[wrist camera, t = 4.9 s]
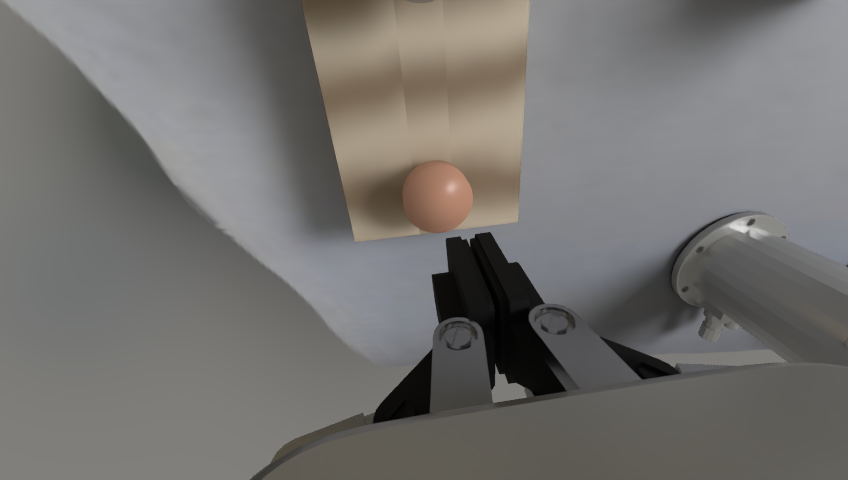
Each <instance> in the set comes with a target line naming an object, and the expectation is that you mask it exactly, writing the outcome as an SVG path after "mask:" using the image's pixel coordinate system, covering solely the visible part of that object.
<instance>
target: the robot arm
mask: <svg viewBox="0 0 848 480" xmlns="http://www.w3.org/2000/svg"><path fill="white" fill-rule="evenodd" d="M446 248H447V259H448V270H449V272H446V273H439V274H432V282H433V290H434V297H435V304H436V310H437V316H438V321H439V325H438V326H437V327H436V329H435V331H434V335H433V349H432V350H431V351H430V352H429V353H428V354H427V355H426V356H425V357H424V358H423V359H422V360H421V361H420V363H419V364H418V365H417V366H416V367H415V368H414V369H413V370H412V371H411V372H410V373H409V374H408V375H407V376H406V377H405V378H404V379H403V381H402V382H401V383H400V384H399V385H398V386H397V387H396V388H395V389H394V390H393V391H392V392H391V393H390V394H389V395H388V396H387V397H386V398H385V400H384V401H383V402H382V403H381V404H380V405H379V407H378V408H377V410H376V412H375V413H372V414H370V415H367V416H364V415H363V413H361V414H358V415H356V416H353V417H350V418H348V419H345V420H343V421H341V422H338V423H335V424H332V425H330V426H327V427H325V428H322V429H319V430H317V431H314V432H312V433H309V434H307V435H304V436H301V437H299V438H296V439H294V440H292V441H290V442H289V443H287V444H285V445H284V446H283V447H282V448H281V449H280V450H279V451H278V452H277V453H276V455H275V456H274V458H273V460H272V461H271V463H270V464H269V465H267V466H266V467H265V468H263V469H262V470H261V471H259V472H258V473H257V474H256V475H254V476H253V477H252V478H251V479H250V480H848V267H846V266H844V265H842V264H839V263H837V262H835V261H833V260H830V259H828V258H826V257H824V256H821V255H819V254H817V253H815V252H813V251H810V250H808V249H806V248H804V247H801V246H799V245H797V244H795V243H792V242H790V241H789V233H788V230H787V228H786V226H785V225H784V224H783V222H782V221H781V220H779V219H777V218H775V217H773V216H770V215H768V214H765V213H761V212H744V213H739V214H735V215H732V216H729V217H727V218H724V219H722V220H719V221H718V222H716V223H714V224H712V225H710V226H709V227H707V228H706V229H704V230H703V231H702V232H700V233H699V234H698V235H697V236H696V237H695V238H693V239H692V240H691V241H690V242H689V243H688V245H687V246H686V247H685V248H684V249H683V251H682V252H681V254H680V255H679V257H678V258H677V260H676V263H675V265H674V267H673V272H672V286H673V290H674V291H675V293H676V294H677V295H678V296H679V297H680V298H681V299H683V300H684V301H685V302H687V303H689V304H690V305H694V306H697V307H703V308H704V309H705V310H704V312H703V313H704V315H705V317H706V318H705V320H704V321H703V323H702V325H701V327H700V329H699V332H698V334H699V336H700V337H702V338H703V339H705V340H708V341H717V340H718V338H719V336H720V334H721V332H722V330H723V325H724V326H725V327H727V328H728V329H732V330H737V329H738V328H739V326H740V327H742V328H743V329H744V330H746V331H747V332H748V333H750V334H751V335H752V336H754V337H755V338H756V339H758V340H759V341H760V342H762V343H763V344H764V345H766V346H767V347H768V348H770V349H771V350H772V351H774V352H775V353H776V354H778V355H779V356H780V357H782V358H783V359H784V360H786V361H787V362H784V363H765V364H754V365H743V366H727V365H703V364H679V363H678V364H676V366H675V368H674V367H672V366H670V365H669V364H668V363H665V362H663V361H661V360H659V359H657V358H654V357H652V356H649V355H646V354H644V353H641V352H639V351H636V350H633V349H631V348H628V347H625V346H623V345H620V344H618V343H615V342H612V341H610V340H607V339H604V338H602V337H599V336H598V335H597V334H596V333H595V332H594V331H593V330H592V329H591V328H590V327H589V326H588V325H587V324H586V323H585V322H584V321H583V320H582V319H581V318H580V317H579V316H578V315H577V314H576V313H575V312H574V311H572V310H571V309H569V308H567V307H565V306H562V305H558V304H545V303H544V302H543V300H542V299H541V297H540V296H539V294H538V293H537V291H536V289H535V288H534V286H533V285H532V283H531V282H530V280H529V278H528V277H527V275H526V274H525V272H524V271H523V269H522V268H521V266H520V265H519V263H517V262H514V263H508V261H507V260H506V258H505V256H504V255H503V253H502V251H501V249H500V248H499V246H498V244H497V243H496V241H495V239H494V238H493V236H492V234H491V233H490V232H487V233H480V234H475V238H472V239H470V246H469V244H468V241H467V239H465V240H462V239H461V237H453V238H446ZM495 364H496V367H497V369H498V372H499V374H505V376H506V378H507V381H508V384H510V383H518V384H520V385H522V386H523V387H525V393H526V396H527V398H522V399H516V400H510V401H504V402H497V403H493V401H492V394H491V390H492V389H493V387H494V386H495Z"/></svg>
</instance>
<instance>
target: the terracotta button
mask: <svg viewBox="0 0 848 480" xmlns="http://www.w3.org/2000/svg"><path fill="white" fill-rule="evenodd" d="M402 194H403V206H404V211H405V213H406V216H407V217H408V219H409V220H410V222H411V223H412V224H413V225H415V226H416V227H417V228H419V229H421V230H423V231H426V232H431V233H441V232H446V231H449V230H452V229H454V228H455V227H457V226H458V225H460V224H461V223H462V222H463V221H464V220H465V219H466V218H467V216H468V214H469V212H470V210H471V207H472V203H473V193H472V189H471V186H470V184H469V182H468V181H467V179H466V178H465V176H464V175H463V173H462V172H461V171H460V170H459V169H458V168H457V167H456V166H455V165H453V164H451V163H449V162H446V161H441V160H432V161H427V162H424V163H422V164H420V165H418V166H417V167H415V168H414V169H413V170H412V171H411V172H410V173H409V175H408V176H407V178H406V180H405V182H404V185H403V192H402Z"/></svg>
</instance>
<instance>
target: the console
mask: <svg viewBox="0 0 848 480" xmlns="http://www.w3.org/2000/svg"><path fill="white" fill-rule="evenodd" d="M301 3H302V7H303V12H304V16H305V21H306V25H307V30H308V34H309V39H310V43H311V48H312V52H313V56H314V61H315V65H316V70H317V74H318V79H319V83H320V88H321V92H322V96H323V101H324V105H325V110H326V114H327V119H328V123H329V128H330V132H331V136H332V141H333V145H334V150H335V154H336V159H337V163H338V168H339V172H340V177H341V181H342V185H343V190H344V194H345V199H346V203H347V208H348V212H349V217H350V221H351V225H352V230H353V234H354V239H355V242H361V241H369V240H377V239H385V238H393V237H401V236H409V235H418V234H426V233H431V232H426V231H423V230H421V229H419V228H417V227H416V226H415V225H413V224H412V223H411V222H410V220H409V219H408V217H407V216H406V213H405V211H404V206H403V194H402V192H403V185H404V182H405V180H406V178H407V176H408V175H409V173H410V172H411V171H412V170H413V169H414V168H415V167H417V166H418V165H420V164H422V163H424V162H427V161H432V160H441V161H446V162H449V163H451V164H453V165H455V166H456V167H457V168H458V169H459V170H460V171H461V172H462V173H463V175H464V176H465V178H466V179H467V181H468V182H469V184H470V186H471V189H472V193H473V203H472V207H471V210H470V212H469V214H468V216H467V218H466V219H465V220H464V221H463V222H462V223H461V224H460V225H458V226H457V227H455V228H454V229H452V230H458V229H466V228H474V227H482V226H490V225H498V224H507V223H515V222H518V210H519V191H520V172H521V154H522V135H523V116H524V97H525V78H526V60H527V41H528V22H529V3H530V0H435V1H432V2H428V3H412V2H409V1H405V0H301ZM449 231H450V230H449Z"/></svg>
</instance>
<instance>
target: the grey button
mask: <svg viewBox="0 0 848 480" xmlns="http://www.w3.org/2000/svg"><path fill="white" fill-rule="evenodd" d="M405 1H409V2H412V3H428V2H432V1H435V0H405Z"/></svg>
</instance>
